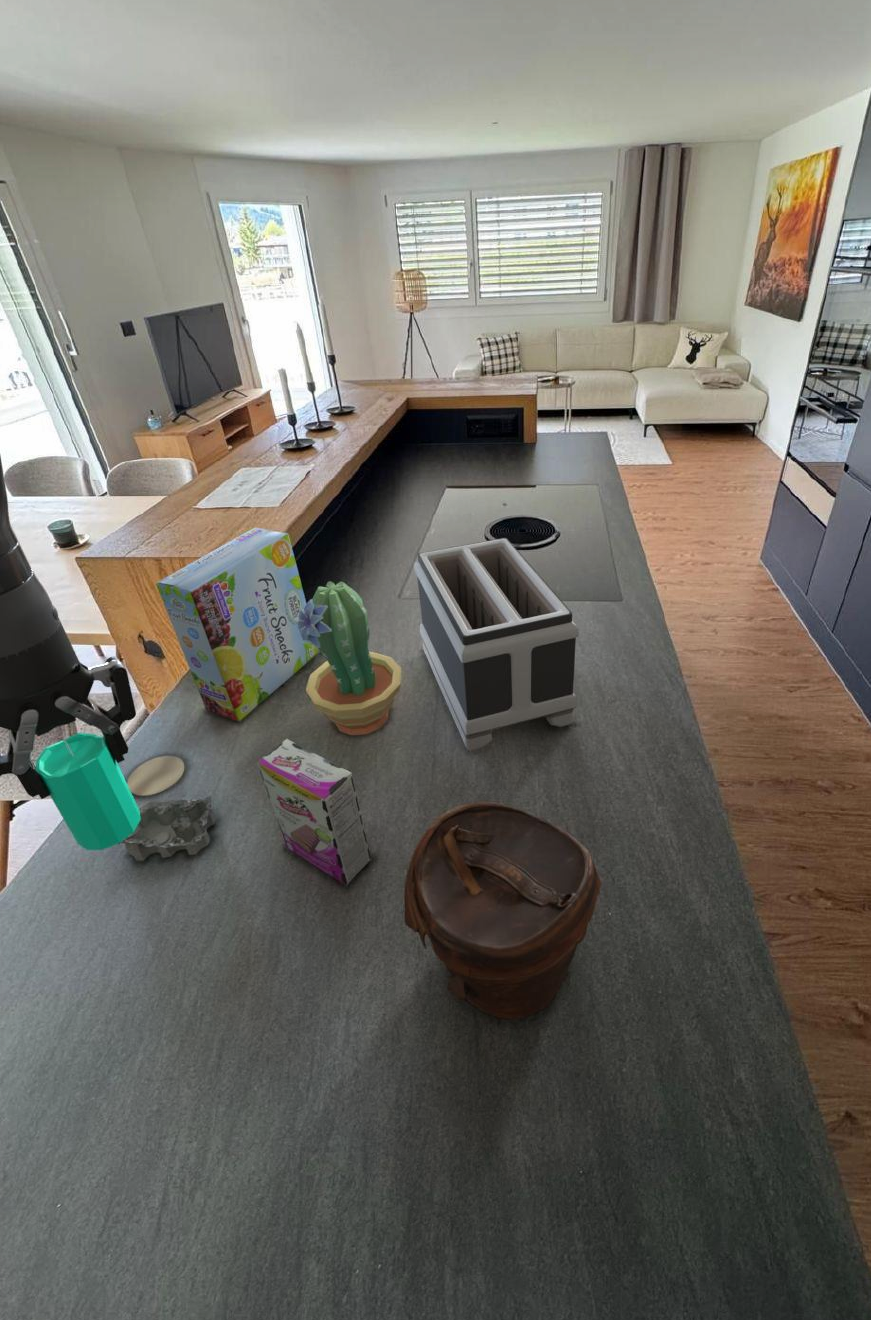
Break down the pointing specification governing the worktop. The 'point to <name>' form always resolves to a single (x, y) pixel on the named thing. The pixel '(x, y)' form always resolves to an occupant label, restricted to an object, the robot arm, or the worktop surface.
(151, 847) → the egg carton
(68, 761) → the candle
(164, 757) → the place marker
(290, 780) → the candy bar box
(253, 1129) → the worktop surface
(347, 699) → the potted cactus
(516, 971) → the case
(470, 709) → the toaster
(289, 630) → the snack box
